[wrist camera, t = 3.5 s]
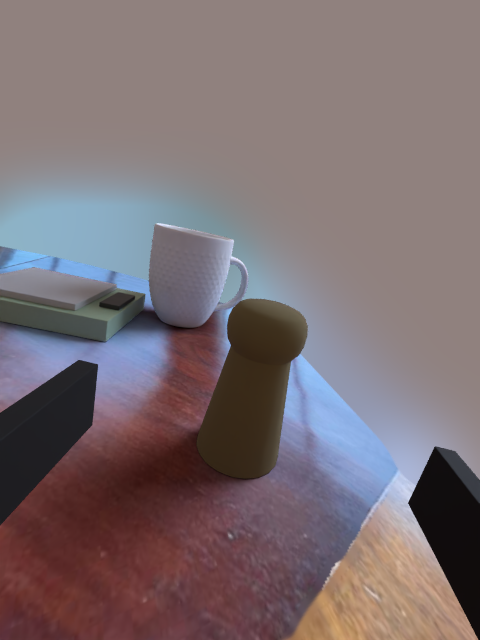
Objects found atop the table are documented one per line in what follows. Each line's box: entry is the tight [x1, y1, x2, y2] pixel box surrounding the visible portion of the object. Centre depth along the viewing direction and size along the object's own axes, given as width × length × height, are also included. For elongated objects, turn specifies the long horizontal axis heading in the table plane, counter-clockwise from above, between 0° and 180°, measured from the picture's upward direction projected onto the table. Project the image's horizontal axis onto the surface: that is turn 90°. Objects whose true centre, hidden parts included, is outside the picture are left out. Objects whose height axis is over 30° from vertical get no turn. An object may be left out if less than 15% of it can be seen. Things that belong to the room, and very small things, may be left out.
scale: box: [0, 267, 145, 342], centre depth 40 cm, size 16×14×3 cm
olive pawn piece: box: [196, 299, 308, 479], centre depth 22 cm, size 6×6×11 cm
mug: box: [149, 223, 248, 328], centre depth 46 cm, size 15×11×13 cm
